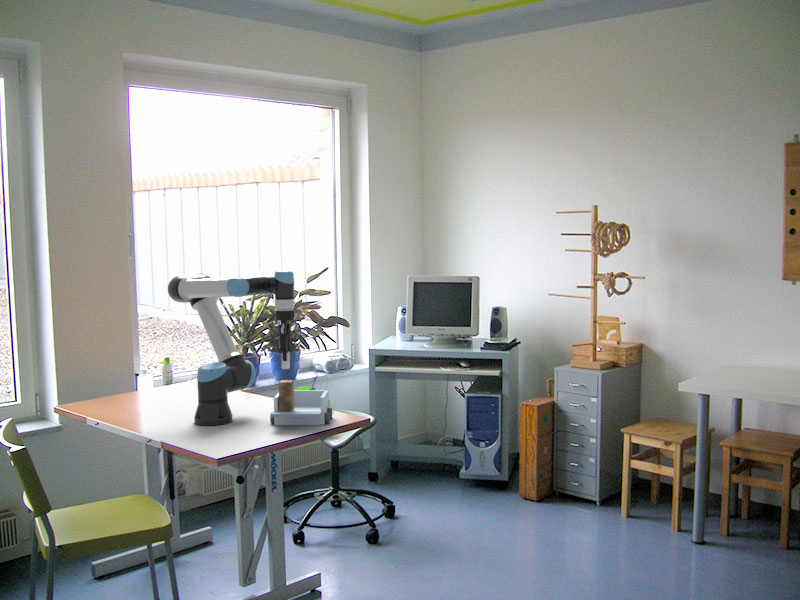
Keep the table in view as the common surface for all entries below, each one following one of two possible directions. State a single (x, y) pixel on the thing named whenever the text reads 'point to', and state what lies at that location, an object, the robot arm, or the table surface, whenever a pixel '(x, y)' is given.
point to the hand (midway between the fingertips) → (285, 368)
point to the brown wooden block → (286, 396)
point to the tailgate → (297, 414)
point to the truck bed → (306, 408)
